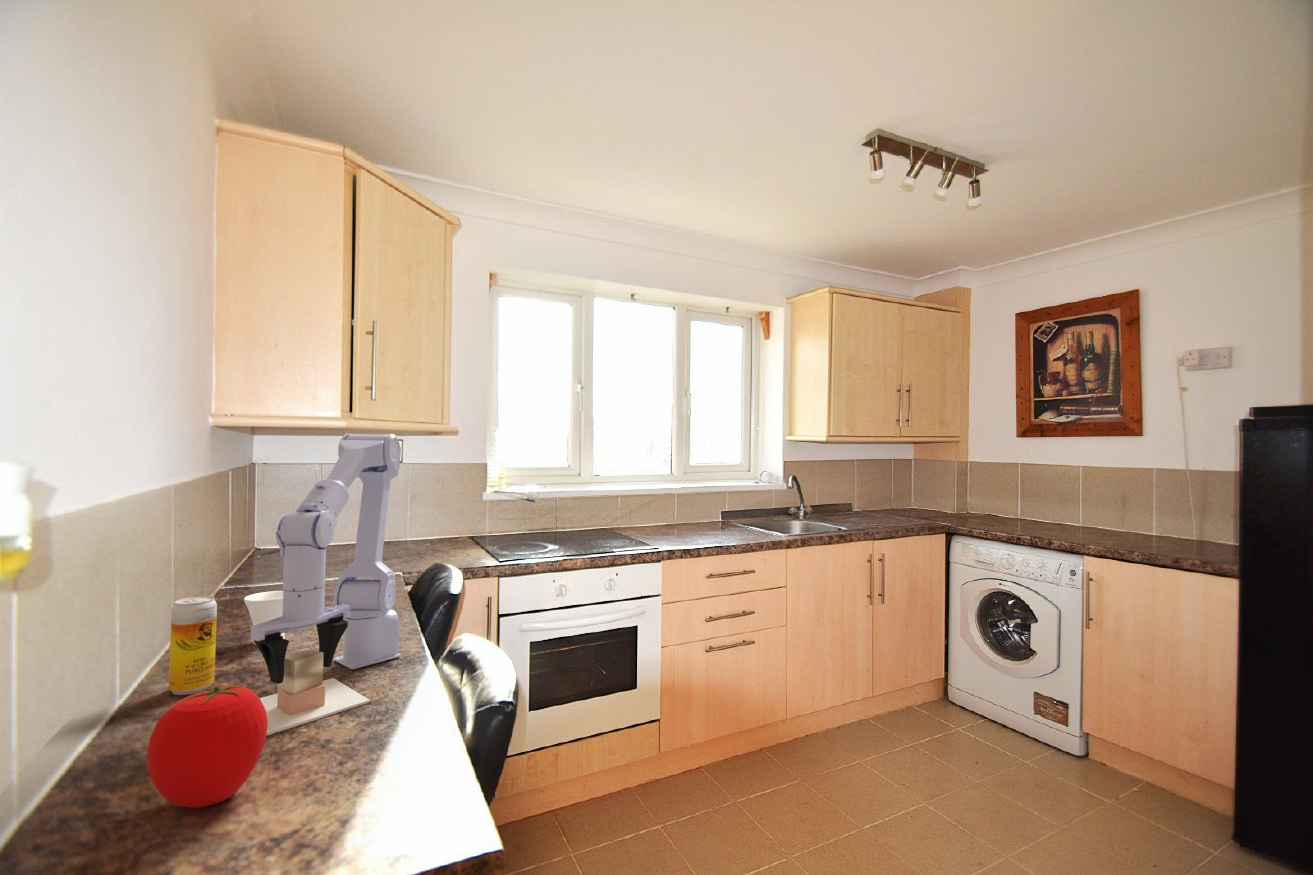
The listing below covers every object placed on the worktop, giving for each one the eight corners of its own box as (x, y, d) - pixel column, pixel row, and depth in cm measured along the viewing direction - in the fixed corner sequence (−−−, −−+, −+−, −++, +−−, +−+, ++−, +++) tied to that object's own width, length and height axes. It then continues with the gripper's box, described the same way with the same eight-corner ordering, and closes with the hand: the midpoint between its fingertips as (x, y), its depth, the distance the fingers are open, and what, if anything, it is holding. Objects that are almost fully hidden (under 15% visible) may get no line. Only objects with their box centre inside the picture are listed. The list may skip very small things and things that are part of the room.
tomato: (168, 843, 60) (172, 718, 61) (130, 807, 66) (134, 694, 66) (285, 790, 70) (288, 682, 70) (242, 763, 76) (245, 664, 76)
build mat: (333, 680, 103) (333, 678, 103) (369, 702, 94) (369, 700, 94) (224, 710, 91) (224, 708, 91) (254, 739, 82) (254, 736, 82)
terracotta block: (311, 696, 95) (312, 678, 95) (324, 705, 92) (325, 686, 92) (277, 706, 91) (277, 687, 91) (289, 716, 88) (289, 696, 88)
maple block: (305, 678, 95) (306, 647, 95) (322, 684, 93) (323, 652, 93) (276, 688, 91) (277, 656, 91) (293, 694, 89) (294, 661, 89)
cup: (302, 639, 125) (304, 592, 125) (254, 651, 117) (255, 601, 117) (282, 632, 129) (283, 587, 130) (234, 643, 122) (235, 595, 122)
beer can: (188, 697, 95) (192, 605, 95) (158, 694, 96) (162, 603, 97) (223, 683, 101) (226, 596, 101) (194, 680, 102) (197, 594, 103)
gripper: (332, 576, 100) (330, 655, 100) (240, 593, 88) (237, 684, 87) (358, 580, 97) (356, 662, 97) (266, 599, 84) (264, 694, 84)
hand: (301, 673), depth 92 cm, fingers open, 7 cm apart
